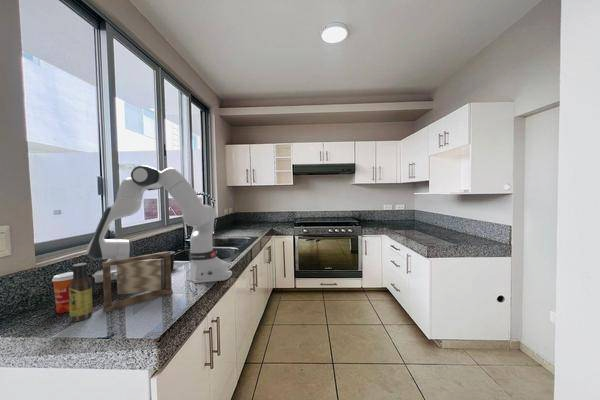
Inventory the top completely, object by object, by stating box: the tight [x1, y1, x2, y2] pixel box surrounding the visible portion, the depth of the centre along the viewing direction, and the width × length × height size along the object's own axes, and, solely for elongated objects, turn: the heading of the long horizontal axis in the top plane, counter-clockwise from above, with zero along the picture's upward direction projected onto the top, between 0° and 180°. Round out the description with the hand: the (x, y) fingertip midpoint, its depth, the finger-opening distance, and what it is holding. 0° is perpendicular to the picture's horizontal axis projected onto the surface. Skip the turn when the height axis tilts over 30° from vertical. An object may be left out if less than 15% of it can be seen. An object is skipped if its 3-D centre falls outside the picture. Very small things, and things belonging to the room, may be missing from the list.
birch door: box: [116, 258, 165, 295], centre depth 108 cm, size 19×3×14 cm, turn 101°
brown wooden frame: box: [102, 250, 174, 313], centre depth 104 cm, size 24×6×18 cm, turn 137°
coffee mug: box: [152, 251, 176, 271], centre depth 147 cm, size 12×9×10 cm
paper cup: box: [51, 271, 73, 314], centre depth 96 cm, size 8×8×14 cm
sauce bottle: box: [69, 262, 93, 322], centre depth 89 cm, size 6×6×20 cm
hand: (125, 276), depth 110 cm, fingers open, 2 cm apart
